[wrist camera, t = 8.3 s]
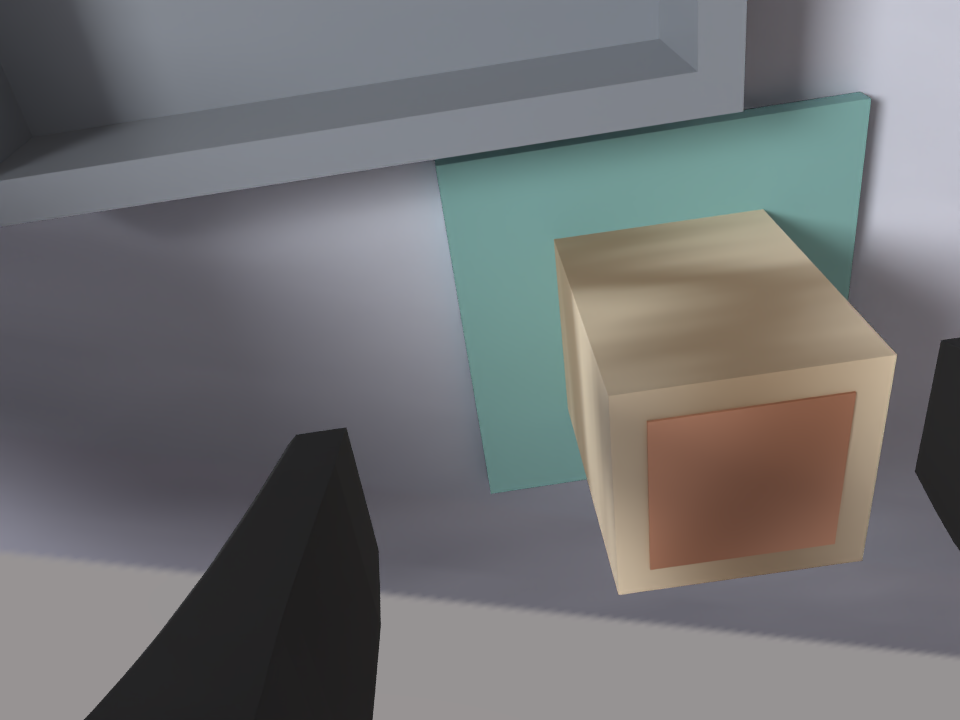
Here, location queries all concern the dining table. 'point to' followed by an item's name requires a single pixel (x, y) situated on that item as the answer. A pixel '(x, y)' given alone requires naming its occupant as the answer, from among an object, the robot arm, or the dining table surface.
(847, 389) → the labelled block
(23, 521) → the dining table surface
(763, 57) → the dining table surface
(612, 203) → the teal mat
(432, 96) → the parts bin
